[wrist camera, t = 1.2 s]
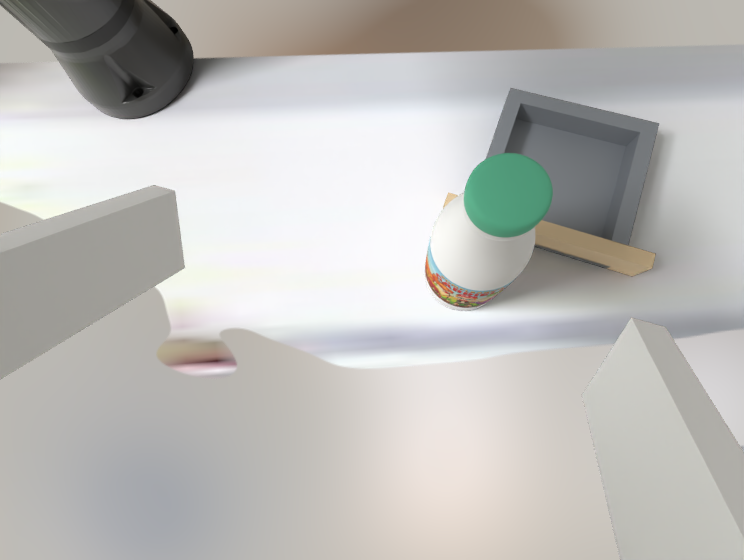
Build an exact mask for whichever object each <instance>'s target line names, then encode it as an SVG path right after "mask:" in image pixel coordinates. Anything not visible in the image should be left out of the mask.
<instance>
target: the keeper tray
mask: <svg viewBox="0 0 744 560" xmlns="http://www.w3.org/2000/svg"><path fill="white" fill-rule="evenodd" d="M658 126H659V123H655V122H651V121H647V120H643V119H639V118H634V117H630V116H626V115H622V114H618V113H614V112H609V111H605V110H601V109H597V108H593V107H588V106H584V105H580V104H576V103H572V102H567V101H563V100H559V99H555V98H551V97H547V96H542V95H538V94H534V93H530V92H526V91H521V90H517V89H513V88H510V91H509V94H508V97H507V99H506V102H505V105H504V108H503V111H502V113H501V116H500V119H499V122H498V125H497V128H496V131H495V134H494V137H493V140H492V143H491V145H490V148H489V151H488V154H487V157H486V159H487V158H489V157H491V156H494V155H497V154H502V153H516V154H521V155H524V156H527V157H529V158H531V159H533V160H535V161H536V162H537V163H539V164H540V165H541V166H542V167H543V168H544V169H545V171H546V172H547V174H548V175H549V177H550V180H551V183H552V188H553V196H552V202H551V205H550V208H549V210H548V212H547V213H546V215H545V216H544V217H543V219H542V220H541V221H540V222H539V223H538V224H537V225H536V226H535V245H534V246H535V247H538V248H541V249H544V250H548V251H551V252H554V253H558V254H561V255H564V256H567V257H571V258H574V259H577V260H580V261H584V262H587V263H590V264H593V265H597V266H600V267H603V268H606V269H610V270H613V271H616V272H619V273H623V274H626V275H629V276H635V275H637V274H640V273H642V272H645V271H647V270H650V269H652V267H653V263H654V259H655V255H656V254H655V253H652V252H648V251H645V250H642V249H638V248H635V247H631V246H628V244H629V240H630V236H631V232H632V229H633V225H634V221H635V217H636V213H637V209H638V205H639V201H640V197H641V193H642V189H643V185H644V181H645V178H646V174H647V170H648V166H649V162H650V158H651V154H652V150H653V146H654V142H655V138H656V134H657V130H658ZM457 196H458V195H455V194H451V193H448V195H447V198H446V200H445V203H444V206H443V209H444V207H445V206H446V205H447V204H448V203H449V202H450V201H452V200H453V199H454V198H456V197H457Z"/></svg>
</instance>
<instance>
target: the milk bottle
mask: <svg viewBox="0 0 744 560" xmlns="http://www.w3.org/2000/svg"><path fill="white" fill-rule="evenodd" d="M552 196H553V188H552V183H551V180H550V177H549V175H548V174H547V172H546V171H545V169H544V168H543V167H542V166H541V165H540V164H539V163H537V162H536V161H535V160H533V159H531V158H529V157H527V156H524V155H521V154H516V153H502V154H497V155H494V156H491V157H489V158H487V159H485V160H484V161H483V162H481V163H480V164H479V165H478V166H477V167H476V168H475V169H474V170H473V172H472V173H471V175H470V177H469V179H468V181H467V184H466V187H465V191H464V193H462V194H460V195H459V196H457V197H456V198H454V199H453V200H452V201H450V202H449V203H448V204H447V205H446V206H445V207H444V209H443V210H442V211H441V213H440V214H439V216H438V218H437V219H436V221H435V223H434V226H433V229H432V233H431V236H430V240H429V246H428V251H427V257H426V263H425V282H426V285H427V288H428V290H429V292H430V293H431V295H432V296H433V297H434V298H435V300H437V301H438V302H439V303H440V304H442V305H443V306H445V307H447V308H450V309H453V310H458V311H468V310H473V309H477V308H479V307H481V306H483V305H485V304H486V303H487V302H489V301H490V300H491V299H493V298H494V297H495V296H496V295H498V294H499V293H500V292H501V291H502V290H503V289H505V288H506V287H507V286H508V285H509V284H510V283H512V282H513V281H514V280H515V279H516V278H517V277H518V275H519V274H520V273H521V272H522V271H523V270H524V268H525V267H526V265H527V264H528V262H529V260H530V258H531V256H532V253H533V249H534V245H535V226H536V225H537V224H538V223H539V222H540V221H541V220H542V219H543V217H544V216H545V215H546V213H547V212H548V210H549V208H550V205H551V202H552Z"/></svg>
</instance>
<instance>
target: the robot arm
mask: <svg viewBox="0 0 744 560" xmlns="http://www.w3.org/2000/svg"><path fill="white" fill-rule="evenodd" d="M0 5H1V6H2V7H3V8H4V9H5V10H7V11H8V12H9V13H10V14H11V15H12V16H13V17H14V18H16V19H17V20H18V21H19V22H20V23H21V24H23V25H24V26H25V27H26V28H27V29H28V30H29V31H30V32H32V33H33V34H34V35H35V36H36V37H37V38H39V39H40V40H41V41H42V42H43V43H44V44H45V45H46V46H48V47H49V48H50V49H51V50H52V52H53V53H54V55H55V57H56V58H57V60H58V61H59V63H60V64H61V66H62V67H63V69H64V70H65V72H66V73H67V75H68V76H69V78H70V79H71V81H72V82H73V84H74V85H75V87H76V88H77V90H78V91H79V92H80V94H81V95H82V96H83V97H84V98H85V99H86V100H88V101H89V102H90V103H91V104H92V105H94V106H95V107H96V108H97V109H98V110H100V111H101V112H103V113H104V114H107V115H109V116H112V117H116V118H123V119H131V118H138V117H143V116H146V115H149V114H152V113H154V112H156V111H158V110H160V109H161V108H163V107H165V106H166V105H167V104H169V103H170V102H171V101H172V100H173V99H175V98H176V97H177V96H178V94H179V93H180V92H181V91H182V89H183V88H184V86H185V85H186V83H187V81H188V79H189V77H190V75H191V71H192V67H193V50H192V47H191V44H190V42H189V40H188V38H187V37H186V35H185V34H184V32H183V31H182V29H181V28H180V27H179V25H178V24H177V23H176V22H175V20H174V19H173V18H172V17H170V16H169V15H168V14H167V13H165V12H164V11H163V10H162V9H161V8H159V7H158V6H157V5H156V4H155V3H153V2H152V1H151V0H0ZM184 268H185V265H184V258H183V250H182V242H181V234H180V226H179V218H178V211H177V203H176V195H175V191H174V190H170V189H167V188H163V187H159V186H156V185H153V186H150V187H146V188H143V189H140V190H137V191H134V192H131V193H128V194H124V195H121V196H118V197H115V198H112V199H109V200H106V201H102V202H99V203H96V204H93V205H90V206H87V207H84V208H80V209H77V210H74V211H71V212H68V213H65V214H62V215H58V216H55V217H52V218H49V219H46V220H43V221H40V222H36V223H33V224H30V225H28V226H24V227H21V228H17V229H14V230H11V231H8V232H5V233H2V234H0V379H2V378H4V377H5V376H7V375H9V374H10V373H12V372H14V371H15V370H17V369H19V368H20V367H22V366H23V365H25V364H27V363H28V362H30V361H32V360H33V359H35V358H37V357H38V356H40V355H42V354H43V353H45V352H47V351H48V350H50V349H52V348H53V347H55V346H57V345H58V344H60V343H61V342H63V341H65V340H66V339H68V338H70V337H71V336H73V335H75V334H76V333H78V332H80V331H81V330H83V329H85V328H86V327H88V326H90V325H91V324H93V323H94V322H96V321H98V320H100V319H101V318H103V317H104V316H106V315H108V314H109V313H111V312H113V311H114V310H116V309H118V308H119V307H121V306H122V305H124V304H126V303H128V302H129V301H131V300H133V299H134V298H136V297H137V296H139V295H141V294H142V293H144V292H146V291H147V290H149V289H150V288H152V287H154V286H156V285H157V284H159V283H161V282H162V281H164V280H166V279H167V278H169V277H171V276H172V275H174V274H175V273H177V272H179V271H180V270H182V269H184ZM582 398H583V403H584V407H585V410H586V415H587V420H588V424H589V428H590V433H591V437H592V441H593V445H594V450H595V454H596V458H597V462H598V467H599V471H600V475H601V480H602V484H603V488H604V492H605V497H606V501H607V505H608V510H609V514H610V518H611V522H612V527H613V531H614V535H615V540H616V544H617V548H618V552H619V557H620V560H744V452H743V450H742V449H741V447H740V445H739V444H738V442H737V441H736V439H735V437H734V436H733V434H732V433H731V431H730V429H729V428H728V426H727V425H726V423H725V421H724V420H723V419H722V417H721V415H720V414H719V412H718V410H717V409H716V407H715V406H714V404H713V402H712V401H711V399H710V398H709V396H708V394H707V393H706V391H705V390H704V388H703V386H702V385H701V383H700V382H699V380H698V378H697V377H696V375H695V374H694V372H693V370H692V369H691V367H690V365H689V364H688V362H687V361H686V359H685V357H684V356H683V354H682V353H681V351H680V350H679V348H678V347H677V345H676V343H675V342H674V340H673V338H672V337H671V335H670V334H669V332H668V330H667V329H666V327H663V326H660V325H656V324H653V323H649V322H645V321H642V320H638V319H635V318H631V319H630V320H629V322H628V323H627V325H626V327H625V328H624V330H623V331H622V333H621V334H620V336H619V338H618V339H617V341H616V342H615V344H614V345H613V347H612V349H611V350H610V352H609V353H608V355H607V356H606V358H605V360H604V361H603V363H602V364H601V366H600V367H599V369H598V370H597V372H596V374H595V375H594V377H593V378H592V380H591V381H590V383H589V385H588V386H587V388H586V389H585V391H584V392H583V394H582Z"/></svg>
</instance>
